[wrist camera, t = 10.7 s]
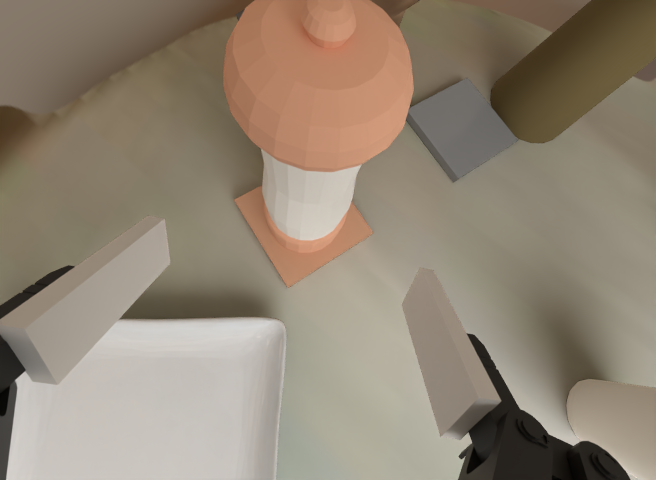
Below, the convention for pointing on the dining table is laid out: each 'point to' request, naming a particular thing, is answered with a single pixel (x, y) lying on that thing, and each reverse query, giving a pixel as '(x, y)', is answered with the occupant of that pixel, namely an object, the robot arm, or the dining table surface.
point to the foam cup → (617, 422)
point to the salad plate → (158, 405)
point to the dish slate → (460, 128)
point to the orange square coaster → (291, 262)
